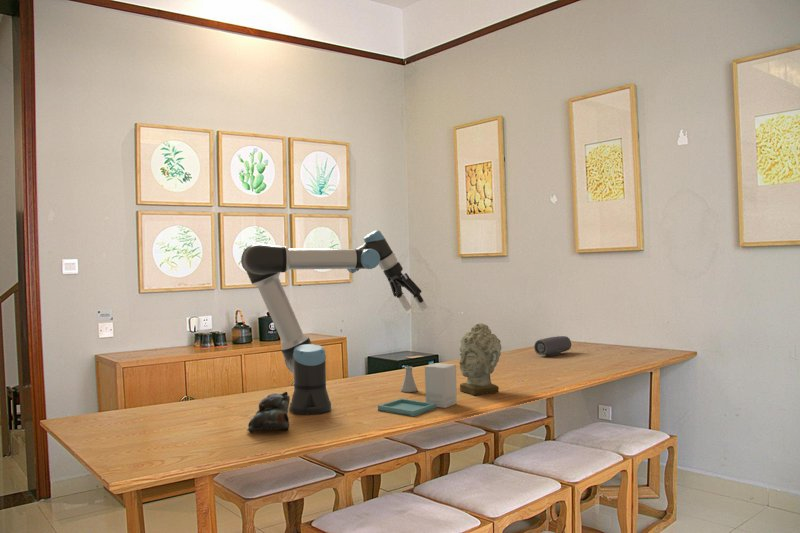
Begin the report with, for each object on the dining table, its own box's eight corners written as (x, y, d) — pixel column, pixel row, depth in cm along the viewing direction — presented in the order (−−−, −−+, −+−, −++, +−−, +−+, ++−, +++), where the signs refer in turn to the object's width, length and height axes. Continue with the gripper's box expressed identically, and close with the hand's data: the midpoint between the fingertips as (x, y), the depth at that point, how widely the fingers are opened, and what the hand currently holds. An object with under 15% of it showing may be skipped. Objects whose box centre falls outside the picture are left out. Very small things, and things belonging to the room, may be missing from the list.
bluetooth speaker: (558, 352, 370) (558, 334, 370) (572, 353, 363) (572, 335, 362) (533, 356, 355) (533, 338, 355) (547, 358, 348) (547, 339, 348)
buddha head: (449, 390, 269) (448, 323, 269) (486, 386, 278) (485, 320, 278) (472, 398, 254) (471, 327, 254) (510, 393, 263) (509, 324, 262)
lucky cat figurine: (239, 432, 210) (245, 390, 216) (268, 439, 218) (273, 398, 224) (268, 425, 201) (273, 381, 208) (298, 433, 209) (302, 391, 215)
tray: (412, 416, 227) (412, 411, 227) (377, 410, 237) (377, 405, 237) (435, 408, 238) (435, 403, 238) (401, 403, 248) (401, 398, 248)
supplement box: (457, 403, 245) (457, 364, 245) (445, 408, 238) (445, 367, 238) (437, 401, 250) (436, 362, 250) (424, 405, 243) (424, 365, 243)
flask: (416, 393, 265) (415, 368, 265) (398, 392, 267) (398, 368, 267) (419, 389, 273) (418, 365, 272) (402, 389, 274) (401, 365, 274)
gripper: (411, 258, 254) (438, 303, 258) (383, 263, 276) (409, 304, 280) (397, 268, 250) (425, 314, 254) (370, 272, 272) (396, 314, 277)
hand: (416, 309), depth 267 cm, fingers open, 13 cm apart
